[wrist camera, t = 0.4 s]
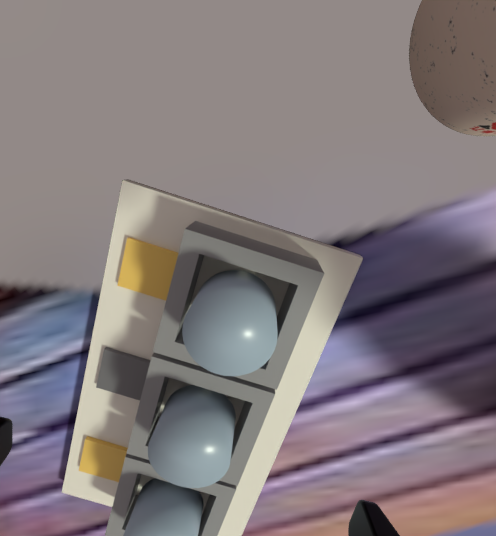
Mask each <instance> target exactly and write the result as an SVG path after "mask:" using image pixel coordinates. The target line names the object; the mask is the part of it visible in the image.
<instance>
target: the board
mask: <svg viewBox="0 0 496 536" xmlns="http://www.w3.org/2000/svg"><path fill="white" fill-rule="evenodd" d="M362 260H363V257H361V256H360V255H359V254H356V253H353V252H350V251H347V250H344V249H341V248H338V247H334V246H331V245H328V244H325V243H322V242H319V241H316V240H313V239H310V238H306V237H303V236H301V235H297V234H294V233H291V232H288V231H285V230H282V229H279V228H276V227H273V226H270V225H266V224H264V223H261V222H257V221H254V220H251V219H248V218H245V217H242V216H239V215H236V214H233V213H230V212H227V211H224V210H221V209H217V208H214V207H211V206H208V205H205V204H202V203H199V202H196V201H193V200H190V199H187V198H184V197H180V196H177V195H174V194H171V193H168V192H165V191H162V190H159V189H156V188H153V187H150V186H147V185H144V184H140V183H137V182H134V181H131V180H122V185H121V190H120V195H119V201H118V205H117V211H116V216H115V221H114V226H113V231H112V236H111V241H110V247H109V252H108V257H107V262H106V267H105V273H104V278H103V283H102V288H101V293H100V298H99V303H98V309H97V314H96V319H95V324H94V329H93V334H92V340H91V345H90V350H89V355H88V360H87V365H86V370H85V376H84V381H83V386H82V391H81V396H80V401H79V407H78V412H77V417H76V422H75V427H74V432H73V438H72V443H71V448H70V453H69V458H68V463H67V468H66V474H65V479H64V484H63V489H62V493H65V494H69V495H72V496H76V497H79V498H83V499H86V500H90V501H93V502H97V503H100V504H104V505H107V506H111V507H112V510H111V514H110V518H109V522H108V525H107V529H106V533H105V535H106V536H123V535H124V532H125V529H126V527H127V524H128V522H129V519H130V517H131V514H132V511H133V509H134V506H135V504H136V501H137V499H138V496H139V494H140V491H141V489H142V487H143V486H144V485H145V484H146V483H147V482H148V481H150V480H152V479H154V478H156V479H159V480H163V481H166V480H165V479H163V478H162V477H161V476H160V475H159V474H158V473H157V472H156V471H155V470H154V469H153V467H152V466H151V463H150V461H149V458H148V445H149V442H150V439H151V437H152V435H153V432H154V430H155V428H156V425H157V423H158V421H159V418H160V416H161V414H162V411H163V409H164V407H165V404H166V402H167V400H168V398H169V397H170V396H171V395H172V394H173V393H174V392H175V391H176V390H178V389H180V388H182V387H185V386H189V385H195V386H198V387H202V388H205V389H208V390H212V391H215V392H218V393H222V394H224V395H225V396H226V397H227V398H228V399H229V400H230V401H231V403H232V405H233V407H234V409H235V414H236V420H235V428H234V436H233V444H232V452H231V460H230V466H229V469H228V471H227V472H226V474H225V475H224V476H223V477H222V478H221V479H220V480H219V481H217V482H216V483H214V484H212V485H209V486H206V487H201V488H190V489H194V490H197V491H199V492H200V494H201V496H202V498H203V511H202V516H201V522H200V527H199V532H198V536H242V533H243V531H244V529H245V526H246V524H247V522H248V520H249V517H250V515H251V513H252V510H253V508H254V506H255V504H256V501H257V499H258V497H259V495H260V492H261V490H262V488H263V485H264V483H265V481H266V479H267V476H268V474H269V472H270V470H271V467H272V465H273V463H274V460H275V458H276V456H277V454H278V451H279V449H280V447H281V444H282V442H283V440H284V438H285V435H286V433H287V431H288V429H289V426H290V424H291V422H292V419H293V417H294V415H295V413H296V410H297V408H298V406H299V404H300V401H301V399H302V397H303V394H304V392H305V390H306V388H307V385H308V383H309V381H310V378H311V376H312V374H313V372H314V369H315V367H316V365H317V363H318V360H319V358H320V356H321V353H322V351H323V349H324V347H325V344H326V342H327V340H328V338H329V335H330V333H331V331H332V328H333V326H334V324H335V322H336V319H337V317H338V315H339V312H340V310H341V308H342V306H343V303H344V301H345V299H346V297H347V294H348V292H349V290H350V287H351V285H352V283H353V281H354V278H355V276H356V274H357V272H358V269H359V267H360V265H361V262H362ZM228 270H241V271H245V272H249V273H251V274H254V275H255V276H257V277H259V278H260V279H261V280H263V281H264V282H265V283H266V284H267V286H268V287H269V288H270V290H271V291H272V294H273V296H274V299H275V304H276V317H277V332H278V334H277V344H276V347H275V350H274V352H273V354H272V356H271V357H270V359H269V360H268V361H267V362H266V363H265V364H264V365H263V366H262V367H260V368H259V369H257V370H255V371H253V372H251V373H249V374H245V375H241V376H223V375H219V374H215V373H213V372H210V371H208V370H206V369H204V368H203V367H201V366H200V365H199V364H198V363H196V362H195V360H194V359H193V358H192V357H191V356H190V354H189V353H188V351H187V349H186V347H185V344H184V341H183V335H182V327H183V322H184V319H185V316H186V314H187V312H188V310H189V308H190V306H191V305H192V303H193V301H194V299H195V297H196V296H197V294H198V292H199V290H200V288H201V287H202V285H203V284H204V283H205V282H206V281H207V280H208V279H209V278H210V277H212V276H214V275H215V274H218V273H220V272H223V271H228ZM166 482H168V481H166Z"/></svg>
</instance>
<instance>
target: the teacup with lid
mask: <svg viewBox="0 0 496 536" xmlns="http://www.w3.org/2000/svg"><path fill="white" fill-rule="evenodd" d="M409 51H410V52H409V61H410V70H411V76H412V80H413V83H414V87H415V89H416V92H417V94H418V96H419V98H420V100H421V102H422V103H423V104H424V106H425V107H426V109H427V110H428V111H429V112H430V113H431V115H433V117H435V118H436V119H437V120H438V121H439V122H441V123H442V124H443V125H445V126H447V127H449V128H450V129H453V130H455V131H457V132H460V133H464V134H468V135H474V136H496V0H422V2H421V4H420V6H419V9H418V11H417V14H416V17H415V20H414V24H413V28H412V33H411V38H410V49H409Z"/></svg>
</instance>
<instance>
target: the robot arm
mask: <svg viewBox="0 0 496 536" xmlns="http://www.w3.org/2000/svg"><path fill="white" fill-rule="evenodd" d="M11 447H12V421H11V420H10V419H8V418H4V417H0V466H1V464H2V463H3V461H4V460H5V458H6V457H7V455H8V454H9V452H10V450H11ZM348 533H349V536H400V535H399V534H398V533H397V531H396V530H395V528H394V527H393V526H392V524H391V523H390V521H389V520H388V519H387V517H386V516H385V515H384V513H383V512H382V510H381V509H380V508H379V506H378V505H377V504H375V503H373V502H369V501H365V500H360V501H358V503H357V505H356V507H355V510H354V512H353V515H352V517H351V520H350V522H349V530H348Z"/></svg>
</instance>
